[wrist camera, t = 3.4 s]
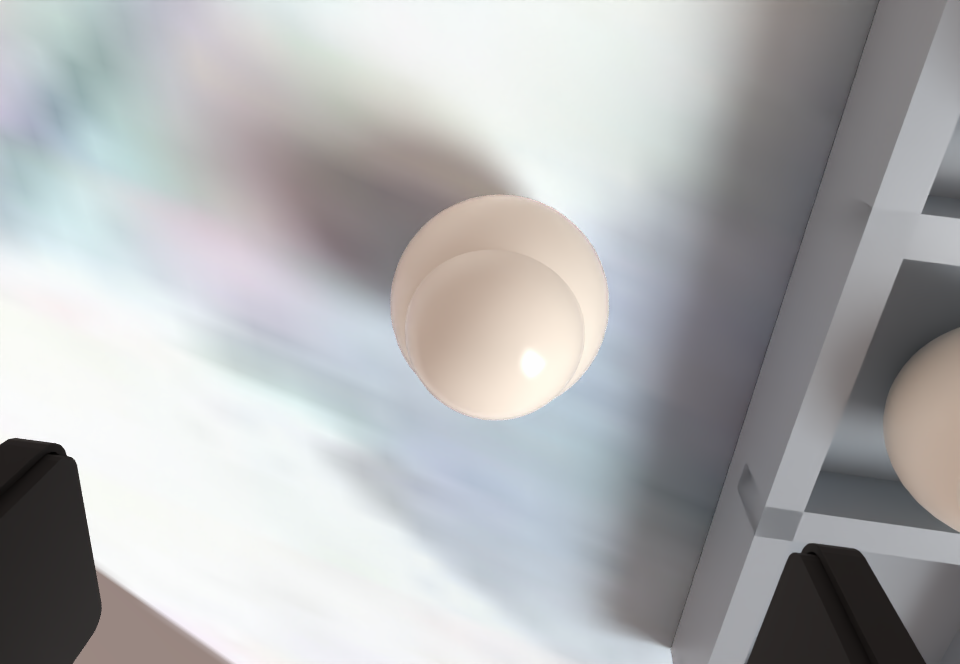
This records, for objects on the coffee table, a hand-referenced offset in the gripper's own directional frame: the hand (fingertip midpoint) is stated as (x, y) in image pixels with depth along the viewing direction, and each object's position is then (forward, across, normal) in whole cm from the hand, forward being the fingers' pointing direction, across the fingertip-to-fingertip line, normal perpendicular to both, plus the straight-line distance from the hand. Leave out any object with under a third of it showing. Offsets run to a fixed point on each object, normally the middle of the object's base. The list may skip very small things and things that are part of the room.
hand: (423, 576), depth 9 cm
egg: (+11, -1, 0) cm, 11 cm away
